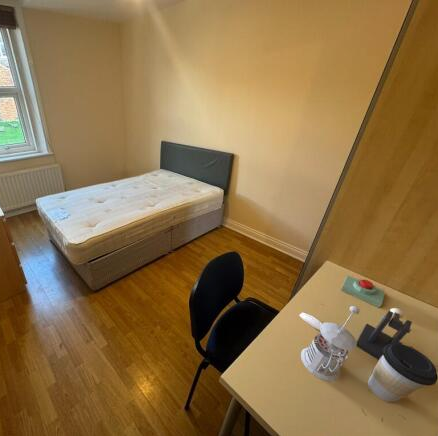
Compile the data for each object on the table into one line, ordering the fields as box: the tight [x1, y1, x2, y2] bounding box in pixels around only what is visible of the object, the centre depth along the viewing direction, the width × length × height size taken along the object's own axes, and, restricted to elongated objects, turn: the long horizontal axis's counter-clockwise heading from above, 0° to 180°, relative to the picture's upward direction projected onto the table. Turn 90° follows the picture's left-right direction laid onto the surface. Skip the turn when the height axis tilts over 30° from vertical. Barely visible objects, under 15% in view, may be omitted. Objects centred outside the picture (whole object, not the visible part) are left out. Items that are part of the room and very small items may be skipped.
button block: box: [340, 275, 386, 309], centre depth 91 cm, size 12×9×4 cm
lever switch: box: [387, 307, 405, 332], centre depth 72 cm, size 15×3×3 cm, turn 128°
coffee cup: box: [367, 343, 438, 404], centre depth 59 cm, size 9×9×15 cm
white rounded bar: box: [299, 312, 324, 331], centre depth 80 cm, size 3×8×3 cm, turn 36°
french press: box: [300, 305, 360, 382], centre depth 62 cm, size 10×12×25 cm
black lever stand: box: [356, 310, 413, 361], centre depth 70 cm, size 11×9×13 cm
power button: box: [360, 279, 374, 289], centre depth 90 cm, size 4×4×2 cm
